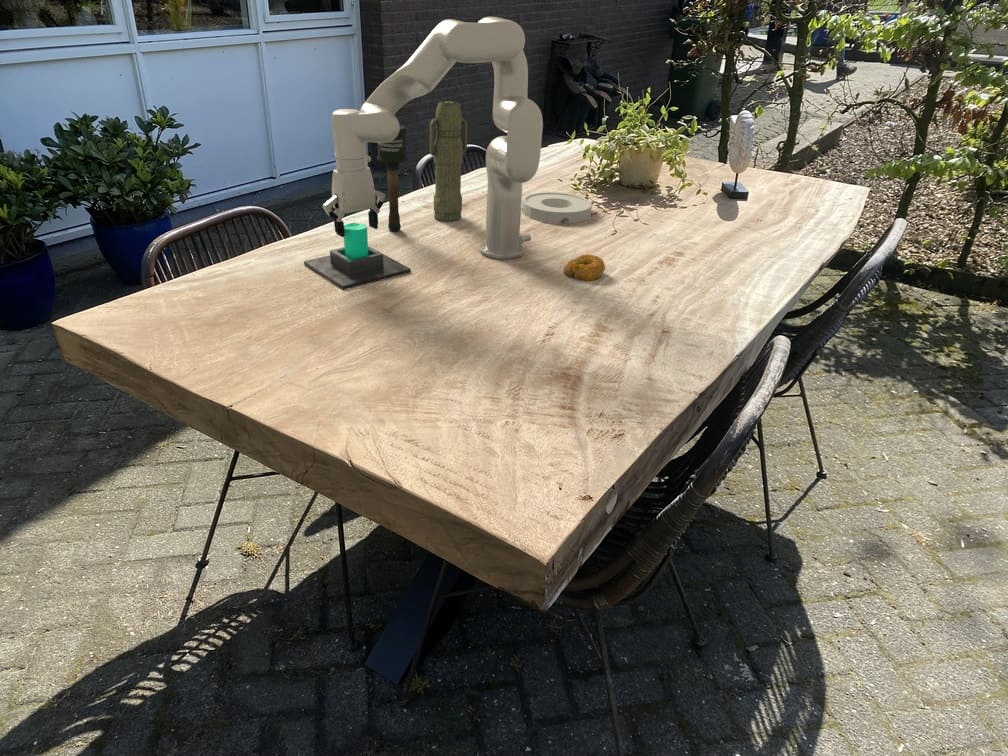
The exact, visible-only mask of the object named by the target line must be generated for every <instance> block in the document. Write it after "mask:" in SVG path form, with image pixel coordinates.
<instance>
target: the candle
mask: <svg viewBox="0 0 1008 756" xmlns="http://www.w3.org/2000/svg"><path fill="white" fill-rule="evenodd" d="M344 231H345V236H344V237H343V244H344V245H343V247H344V248H345V256H346V257H348V258H349V259H351V260H352V259H356V258H360V257H365V256H368V246H369V239H368V227H367V225H366V224H365V223H359V222H356V220H354V221H353V222H350V223H346V224H344Z"/></svg>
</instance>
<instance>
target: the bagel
mask: <svg viewBox="0 0 1008 756" xmlns="http://www.w3.org/2000/svg"><path fill="white" fill-rule="evenodd" d="M605 270H606V265H605V262H604V259H602V258H601V257H599V256H598V255H594V254H582V255H579V256H578V257H576V258H574V259H571V260H570V261H568V262H567V263H566V264H565V265H564V266H563V270H562V271H563V273H565V275H567V276H569V277H575V279H577V280H580V281H586V282H587V281H590V282H591V281H595V280H597V279H599V278H600V277H602V275H603V274H604V273H605Z"/></svg>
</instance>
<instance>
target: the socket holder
mask: <svg viewBox="0 0 1008 756" xmlns="http://www.w3.org/2000/svg"><path fill="white" fill-rule="evenodd" d="M303 265H304V266H306V267H307V268H308V269H310V270H312V271H313V272H315V273H317V275H319V276H321V277H323V278H324V279H326V280H327V281H329V282H331V283H332V284H334V285H335V286H336V287H338V288H340V289H341V290H343V291H344V290H349V289H352V288H356V287H358V286H359V287H360V286H364V285H367V284H371V283H376V282H379V281H383V280H387V279H390V278H394V277H397V276H402V275H406V274H410V273H411V272H412V268H410V267H408V266H406V265H404V264H402V263H401V262H399V261H397V260H395V259H394V258H392V257H390V256H388V255H386V254H385V253H382V252H380V251H379V250H376V249H374V248H373V247H371V246H369V245H368V256H365V257H360V258H356V259H352V260H351V259H349V258H348V257H346V256H345V248H344V246H343V247H340V248H334V249H330V250H329V255H326V256H322V257H316V258H311V259H307V260H304V261H303Z"/></svg>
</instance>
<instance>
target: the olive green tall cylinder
mask: <svg viewBox="0 0 1008 756" xmlns="http://www.w3.org/2000/svg"><path fill="white" fill-rule="evenodd" d="M428 125H429V128H428V129H429V131H428V132H429V135H428V136H429V137H428V138H429V140H428V141H429V155H431V156H433V162H434V165H435V167H434V169H435V175H434V176H435V177H434V178H435V185H434V186H435V187H434V189H435V191H434V192H435V193H434V196H433V210H434V211H433V212H434V215H433V218H434V220H436V221H438V222H443V223H456V222H458V221H460V220H462V210H463V196H462V193H461V185H462V184H461V183H462V180H461V179H462V176H461V175H462V164H463V160H464V154H465V153H466V152H467V151H468V122H467V120H466V119H465V118H463V117H462V109H461V105H460V103H459V102H457V101H455V100H441V101H440V102H438V104H437V107H436V110H435V117H434V118H432V119H430V122H429V124H428ZM435 130H436V133H435Z"/></svg>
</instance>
